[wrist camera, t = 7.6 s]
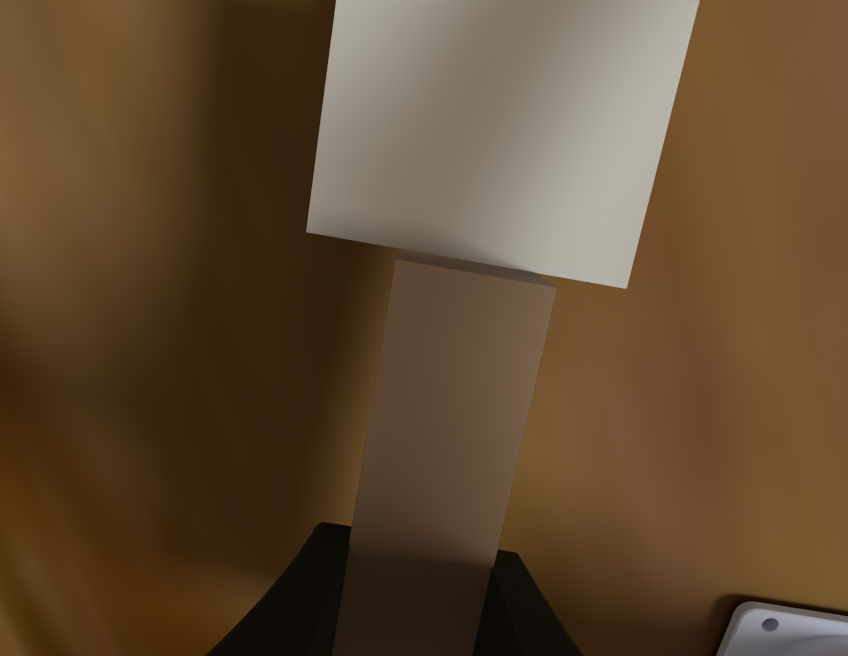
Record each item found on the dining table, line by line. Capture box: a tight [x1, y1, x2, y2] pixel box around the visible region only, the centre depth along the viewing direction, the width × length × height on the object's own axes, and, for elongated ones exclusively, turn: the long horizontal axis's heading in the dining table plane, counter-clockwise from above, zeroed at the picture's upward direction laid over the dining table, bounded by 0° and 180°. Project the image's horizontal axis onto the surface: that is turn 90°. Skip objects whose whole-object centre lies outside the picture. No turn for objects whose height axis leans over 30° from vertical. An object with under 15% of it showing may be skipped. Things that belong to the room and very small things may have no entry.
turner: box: [306, 0, 699, 656], centre depth 12 cm, size 6×17×4 cm, turn 170°
